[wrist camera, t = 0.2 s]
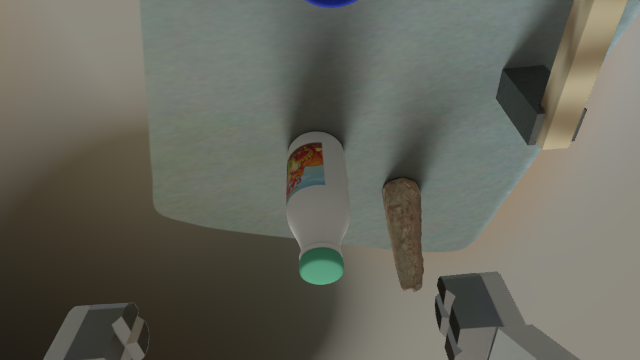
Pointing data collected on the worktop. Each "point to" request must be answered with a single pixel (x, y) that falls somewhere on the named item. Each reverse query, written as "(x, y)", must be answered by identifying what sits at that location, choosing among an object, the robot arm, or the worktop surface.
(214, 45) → the worktop surface
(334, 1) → the mug
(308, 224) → the milk bottle
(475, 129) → the worktop surface
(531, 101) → the post
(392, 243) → the brown stone cone
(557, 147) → the rail
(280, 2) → the worktop surface
